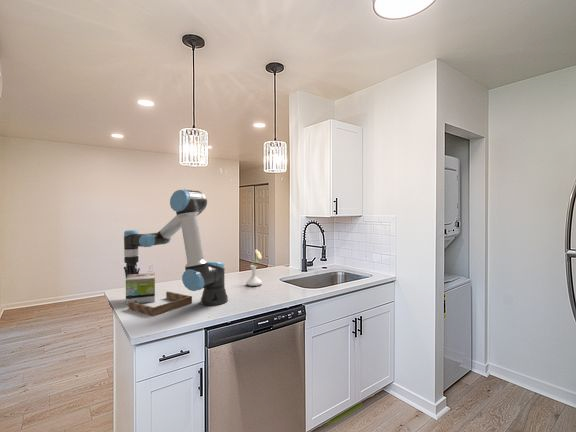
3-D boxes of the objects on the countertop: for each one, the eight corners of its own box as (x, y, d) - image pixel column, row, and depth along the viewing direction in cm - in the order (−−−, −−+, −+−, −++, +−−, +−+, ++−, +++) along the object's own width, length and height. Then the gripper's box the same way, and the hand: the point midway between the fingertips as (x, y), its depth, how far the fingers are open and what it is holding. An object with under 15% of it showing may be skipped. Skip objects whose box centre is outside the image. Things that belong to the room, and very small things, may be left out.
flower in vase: (255, 287, 203) (254, 251, 203) (242, 285, 209) (242, 250, 209) (266, 283, 214) (266, 249, 214) (254, 282, 220) (254, 248, 220)
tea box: (125, 305, 167) (124, 280, 165) (127, 298, 176) (126, 274, 174) (155, 302, 173) (154, 277, 171) (155, 295, 182) (154, 271, 180)
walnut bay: (192, 303, 170) (191, 296, 170) (153, 316, 149) (153, 308, 149) (168, 297, 181) (167, 291, 181) (128, 309, 160) (128, 301, 160)
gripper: (143, 255, 179) (144, 295, 179) (131, 254, 186) (131, 292, 186) (131, 257, 173) (132, 298, 173) (119, 256, 179) (119, 295, 180)
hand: (132, 295), depth 180 cm, fingers closed
